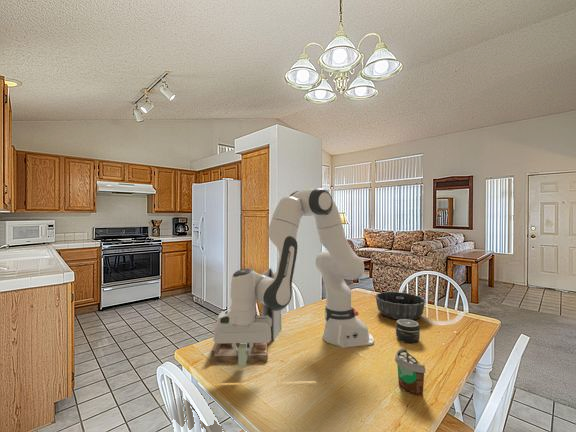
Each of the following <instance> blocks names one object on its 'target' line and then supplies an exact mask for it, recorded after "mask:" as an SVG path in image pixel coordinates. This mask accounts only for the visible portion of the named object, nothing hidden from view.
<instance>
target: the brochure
mask: <svg viewBox="0 0 576 432" xmlns="http://www.w3.org/2000/svg"><path fill="white" fill-rule="evenodd" d="M261 275H264V276H268V277H271V278H273V279H274V278H275V276H276V272H274V270H273V269H272V267H270V268H268V269H267V270H264V272H262V273H261ZM261 306H262V307H261V308H262V309H261V310H262V312H261V316H264V315H267V316H268V317H271V319H272V326H271V337H272V340H273V341H274V342H275V340H276V339H277V337H278V335H279V334H280V332H281V331H282V310H279V311H274V310H272V309H270V308H269V307H267V306H266V305H264V304H262V303H261Z"/></svg>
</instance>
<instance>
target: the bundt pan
mask: <svg viewBox="0 0 576 432" xmlns="http://www.w3.org/2000/svg"><path fill="white" fill-rule="evenodd" d="M374 297H375V299H376V301H375V302H376V307H377V310H378V311H379V312H380V313H381V314H382V315H384V316H386V317H387V318H389V319H390V318H392V319H395V320H399V319H409V320H413V321H416V320H417V319H419V318H420V317H422V316H423V314H424V309H425V305H426V302H427V300H426V298H424V297H422V296H420V295H416V294H413V293H408V292H403V291H402V292H400V291H384V292H381V291H380V293H376V294H375V296H374Z"/></svg>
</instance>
